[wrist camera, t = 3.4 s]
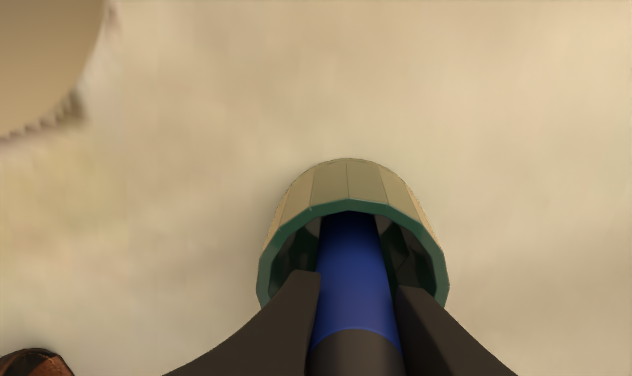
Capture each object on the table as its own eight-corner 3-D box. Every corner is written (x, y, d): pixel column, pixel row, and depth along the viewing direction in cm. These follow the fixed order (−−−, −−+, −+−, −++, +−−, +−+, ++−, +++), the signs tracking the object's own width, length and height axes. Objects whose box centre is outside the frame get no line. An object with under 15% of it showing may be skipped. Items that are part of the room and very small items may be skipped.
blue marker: (382, 210, 16) (427, 390, 8) (372, 263, 17) (403, 480, 8) (324, 201, 16) (308, 372, 8) (315, 254, 17) (293, 464, 8)
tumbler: (436, 170, 16) (468, 215, 12) (405, 301, 17) (425, 381, 13) (285, 147, 16) (268, 185, 12) (268, 281, 17) (248, 354, 13)
